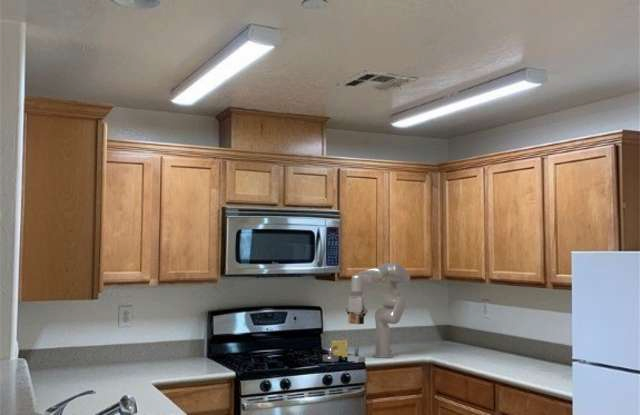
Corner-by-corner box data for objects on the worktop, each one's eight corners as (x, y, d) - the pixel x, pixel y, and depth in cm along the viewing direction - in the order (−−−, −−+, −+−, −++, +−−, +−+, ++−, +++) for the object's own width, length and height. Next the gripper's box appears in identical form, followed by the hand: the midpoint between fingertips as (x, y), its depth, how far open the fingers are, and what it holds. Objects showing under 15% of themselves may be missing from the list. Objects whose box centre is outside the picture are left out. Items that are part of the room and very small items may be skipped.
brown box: (354, 322, 393) (354, 313, 393) (363, 323, 389) (364, 314, 389) (348, 323, 387) (348, 313, 388) (357, 324, 383) (358, 314, 384)
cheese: (347, 357, 399) (348, 342, 400) (331, 357, 399) (331, 341, 400) (347, 355, 409) (347, 340, 410) (331, 354, 410) (331, 339, 411)
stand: (354, 359, 392) (354, 345, 392) (365, 361, 387) (365, 346, 388) (347, 361, 385) (347, 346, 386) (358, 362, 380) (358, 347, 381)
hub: (328, 358, 391) (329, 346, 392) (341, 360, 385) (342, 347, 386) (319, 360, 383) (319, 347, 384) (332, 362, 377) (332, 349, 378)
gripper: (342, 293, 392) (341, 322, 390) (365, 295, 382) (365, 324, 380) (348, 293, 398) (347, 321, 396) (371, 295, 388) (371, 323, 386)
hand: (356, 322), depth 388 cm, fingers closed on brown box, 7 cm apart
